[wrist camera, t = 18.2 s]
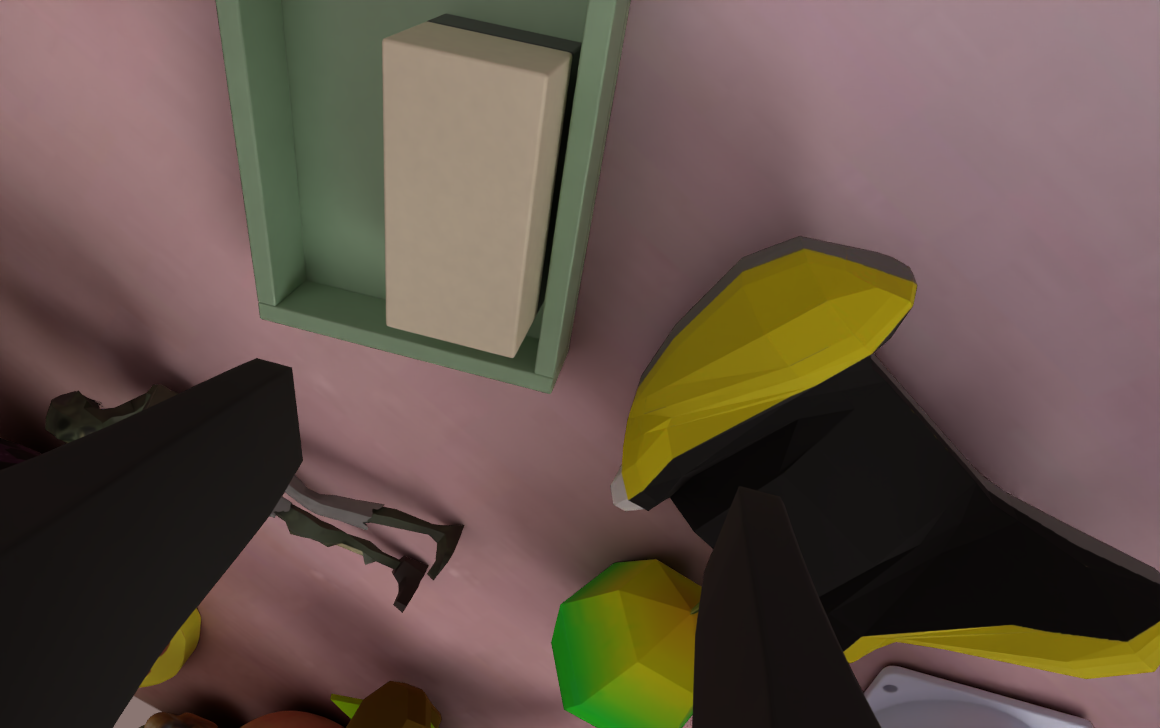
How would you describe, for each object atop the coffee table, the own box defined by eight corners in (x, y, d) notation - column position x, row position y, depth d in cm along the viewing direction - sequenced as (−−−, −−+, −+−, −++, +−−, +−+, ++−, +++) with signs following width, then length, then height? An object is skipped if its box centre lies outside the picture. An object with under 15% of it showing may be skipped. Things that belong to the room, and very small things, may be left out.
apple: (569, 810, 24) (733, 721, 18) (487, 638, 26) (611, 516, 21) (694, 719, 29) (852, 628, 23) (615, 582, 31) (741, 472, 26)
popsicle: (110, 493, 32) (20, 635, 43) (88, 514, 31) (1, 654, 42) (259, 591, 34) (137, 703, 45) (243, 613, 33) (122, 723, 44)
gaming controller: (837, 146, 17) (564, 356, 22) (865, 237, 12) (515, 472, 18) (1133, 514, 21) (843, 618, 26) (1234, 682, 17) (860, 766, 22)
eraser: (585, 42, 16) (548, 75, 14) (547, 295, 20) (513, 360, 18) (444, 12, 17) (380, 37, 14) (435, 267, 21) (384, 327, 18)
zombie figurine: (344, 724, 25) (-50, 510, 23) (422, 574, 31) (110, 389, 28) (398, 672, 22) (-53, 418, 20) (474, 514, 27) (128, 301, 25)
